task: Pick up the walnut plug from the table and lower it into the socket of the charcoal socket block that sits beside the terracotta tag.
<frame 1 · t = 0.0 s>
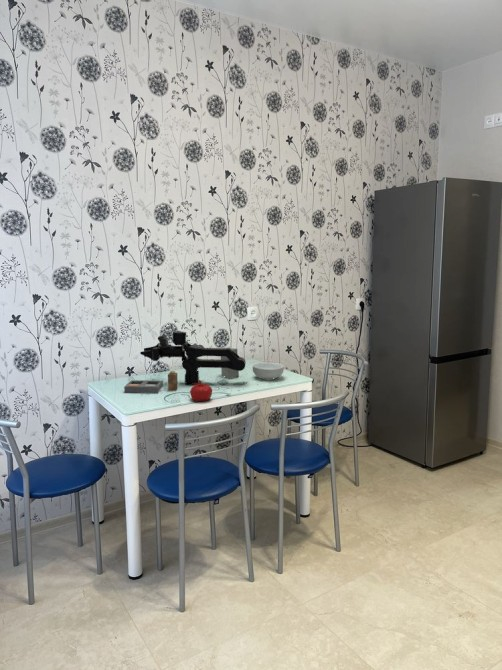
hand: (142, 351, 257), 17 cm above the table, tool horizontal, fingers open, 9 cm apart
walnut plug: (172, 389, 248), on the table
skincare box: (229, 376, 274), on the table
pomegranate: (201, 400, 232), on the table
socket block: (144, 389, 247), on the table
cereal bowl: (268, 378, 271), on the table
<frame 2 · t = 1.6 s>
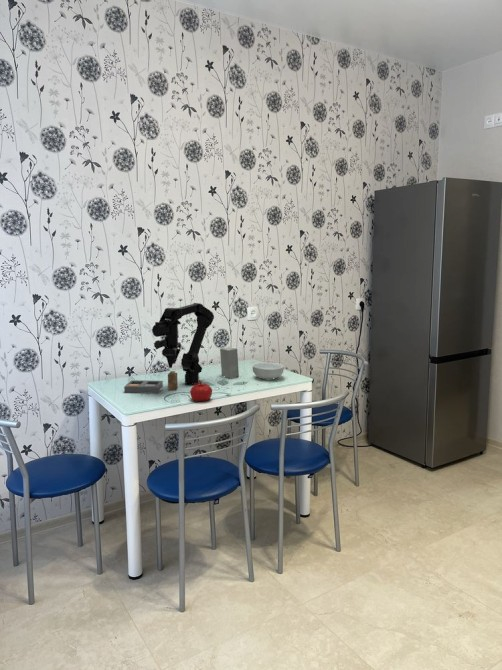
hand: (172, 365, 246), 12 cm above the table, tool pointing down, fingers open, 9 cm apart
nothing on the table moved.
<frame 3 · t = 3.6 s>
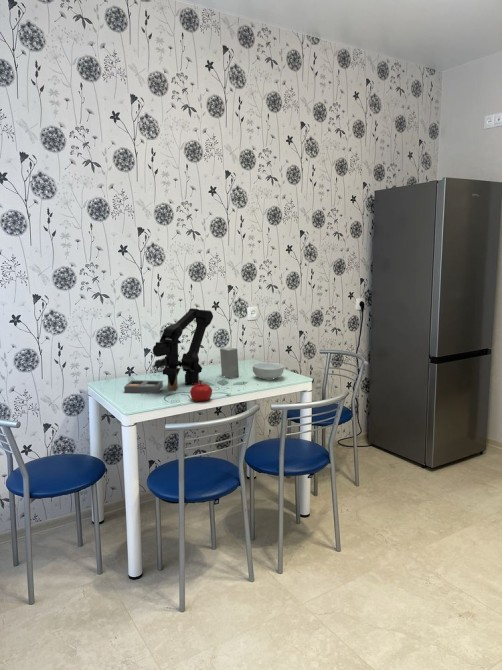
hand: (172, 384, 248), 3 cm above the table, tool pointing down, fingers closed on walnut plug, 4 cm apart
walnut plug: (172, 389, 248), on the table, touching gripper
everything else where it was.
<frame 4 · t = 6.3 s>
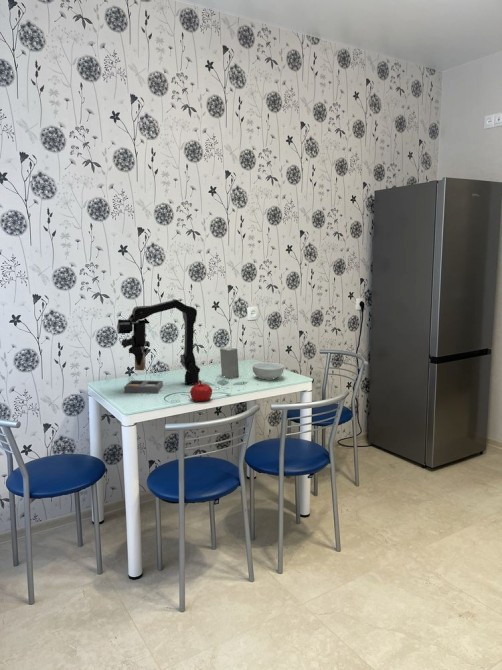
hand: (139, 364, 246), 12 cm above the table, tool pointing down, fingers closed on walnut plug, 4 cm apart
walnut plug: (140, 369, 247), point 10 cm above the table, touching gripper
everything else where it was.
when the fingers open (4 cm above the table, at t = 9.2 s): walnut plug stays where it is, resting on socket block.
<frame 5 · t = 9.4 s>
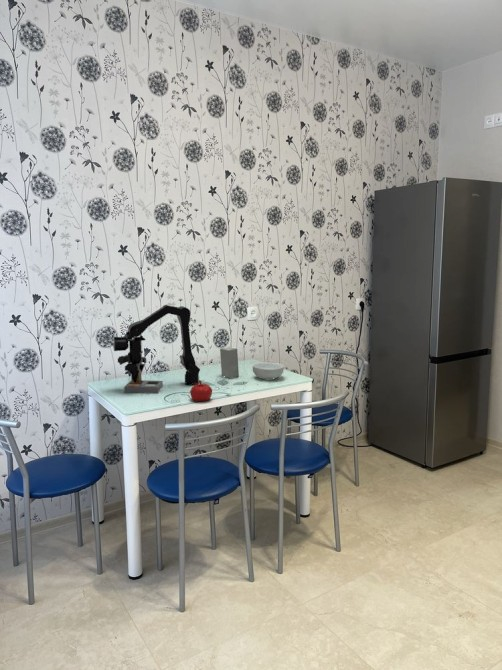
hand: (136, 380, 248), 4 cm above the table, tool pointing down, fingers open, 6 cm apart
walnut plug: (136, 386, 249), point 1 cm above the table, touching socket block
everything else where it was.
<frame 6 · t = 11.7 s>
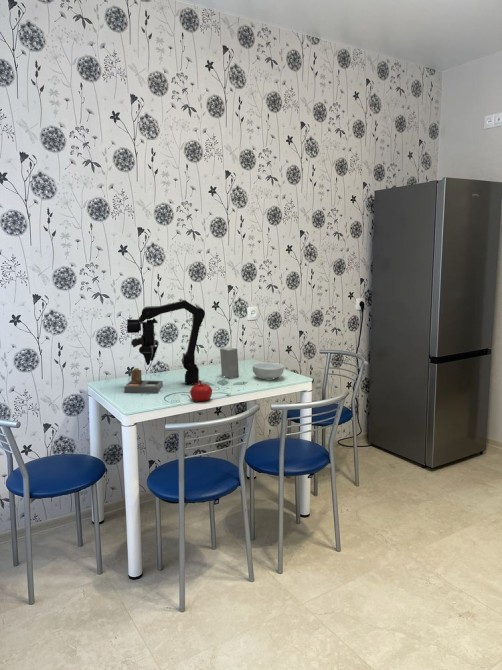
hand: (149, 362, 253), 12 cm above the table, tool pointing down, fingers open, 9 cm apart
nothing on the table moved.
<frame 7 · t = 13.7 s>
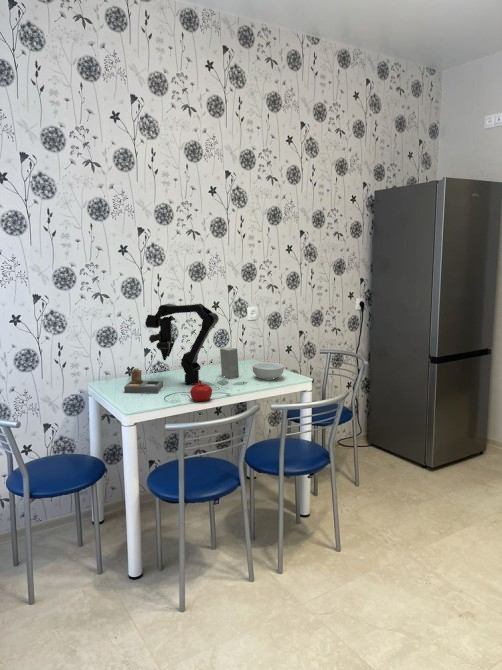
hand: (166, 358, 262), 12 cm above the table, tool pointing down, fingers open, 9 cm apart
nothing on the table moved.
at the end: walnut plug 0.0 cm from the target spot on the socket block, point 1.0 cm above the socket block's base; walnut plug tilted 0°; the gripper is holding nothing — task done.
